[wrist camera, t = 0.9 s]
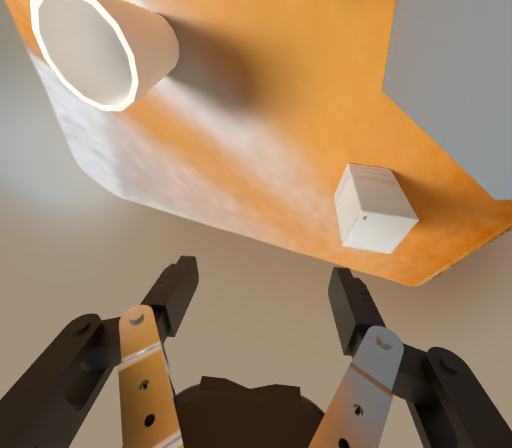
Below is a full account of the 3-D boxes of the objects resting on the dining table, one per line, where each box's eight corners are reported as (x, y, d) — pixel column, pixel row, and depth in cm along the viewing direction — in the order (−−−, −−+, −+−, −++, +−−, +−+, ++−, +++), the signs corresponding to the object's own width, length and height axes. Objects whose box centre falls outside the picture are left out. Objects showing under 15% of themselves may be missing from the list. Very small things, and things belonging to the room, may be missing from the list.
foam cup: (204, 50, 29) (155, 66, 19) (168, 98, 34) (116, 129, 24) (141, -32, 24) (41, -62, 15) (110, 37, 29) (21, 47, 20)
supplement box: (332, 196, 41) (340, 246, 32) (347, 161, 36) (361, 209, 27) (371, 203, 40) (390, 256, 32) (392, 168, 35) (422, 220, 26)
